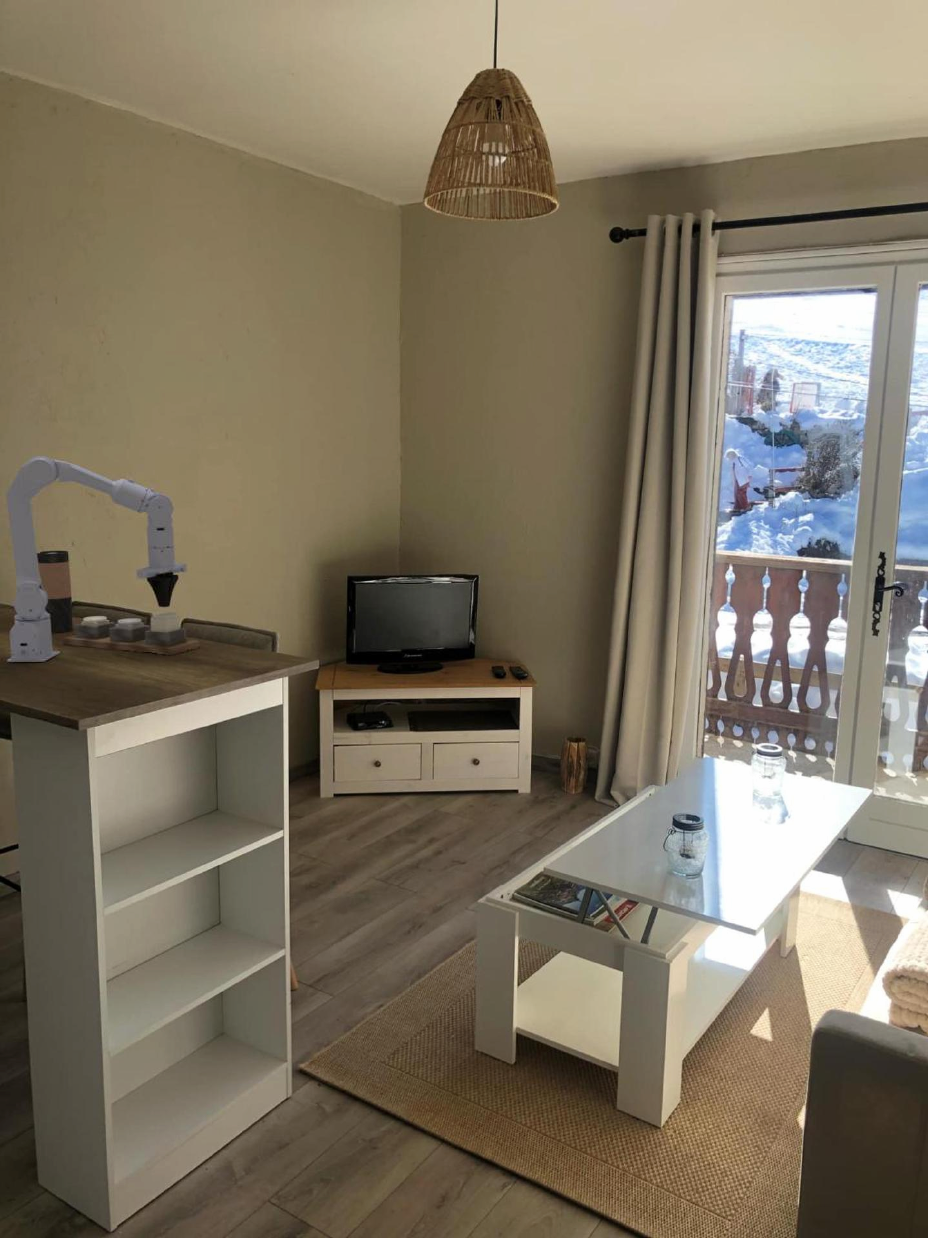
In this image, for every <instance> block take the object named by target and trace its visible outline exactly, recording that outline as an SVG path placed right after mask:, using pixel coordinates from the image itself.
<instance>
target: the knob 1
mask: <svg viewBox="0 0 928 1238" xmlns="http://www.w3.org/2000/svg"><path fill="white" fill-rule="evenodd" d="M82 619H83V620H82V621H81V622H80V624H81V625H87V626H99V625H104V624H109V622H110V620H108V618H107V616H104V615H96V616H95V615H94V616H93V615H92V616H86V617H83V618H82Z"/></svg>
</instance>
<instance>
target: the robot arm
mask: <svg viewBox="0 0 928 1238" xmlns="http://www.w3.org/2000/svg"><path fill="white" fill-rule="evenodd" d="M57 479H58V483H66V482H67V483H68V482H75V483H77V484H80V485H83V486H85V487H88V488H91V489H93V490H96V491H99V492H102V493H105V494H108V495H109V496H110V497H109V498H110V499H111V501H112V503H114V504H116V505H118V506H122V507H124V508H126V509H129V510H131V511H135V512H137V513H139V514H142V513H146V515H147V526H146V539H147V556H148V558H147V559H148V566H146V567H144V568H138V569H136V571H135V572H136V578H137V579H141V580H142V579H143V580H145V579H146V581H147V582H148V584H149V585H150V587H151V589H152V590H153V593H154V596H155V599H156V602H157V606H158V607H159V608H168V607H170V606H171V600H172V596H173V591H174V589H175V587H176V584H177V582H178V580H179V575H178V574H176V573H185V572H186V573H187V571H188V570H187V569H188V567H187V563H186V562H184V563H183V562H178V563H176V559H175V558H176V557H175V538H174V533H175V532H174V526H173V518H172V515H173V512H174V508H175V507H174V505H173V503H172V501H171V499H170V498H169V497H168V496H167V495H165V494H163V493H162V492H155V491H156V489H155V488H152V487H150V488H147V487H146V486H142V485H140V484H137V483H135V480H134V479H131V478H130V477H129V478H128V479H125V478H120V479H118V480H115V481H114V480H112V479H109V478H107V477H105V476H103V475H100V474H98V473H95V472H93V471H90V470H88V469H86V468H83V467H81V466H79V465H77V464H74V463H70V462H67V461H63V460H58V459H52V458H51V457H48V456H44V455H43V456H34V457H32V458H30V459H29V460H28V461H27V462H25V463H24V464H23V465H21V467H19V470H18V471H17V473H16V475H15V476H14V478H13V481H12V482H11V484H10V486H9V487H8V489H7V490H6V503H7V504H6V505H7V512H8V521H9V527H10V534H11V536H10V537H11V543H12V550H13V551H12V552H13V559H14V564H15V565H14V566H15V573H16V584H15V585H16V596H15V598H14V601H13V607H14V610H15V612H16V614H15V615H14V624H13V626H12V627H11V629H10V630H9V645H10V646H9V647H10V658H8V659H6V662H7V663H21V662H22V663H25V662H26V663H27V662H29V663H31V662H32V663H35V662H36V663H38V662H42V663H44V662H46V661H47V660H50V659H52V658H54V657H56V656H57V655H59V654H60V653H61V651H60V650H59V651H58V650H57V651H55V650H54V651H53V639H52V633H51V621H50V614H49V613H47V612H46V610H45V607H46V605H47V603H48V595H47V593H46V591H45V590H44V589H43V587H42V583H41V577H40V573H39V566H38V558H37V553H38V552H37V542H36V537H35V536H36V535H35V528H34V527H35V526H34V519H33V518H34V517H33V512H32V511H33V510H32V504H31V503H32V500H33V498H34V497H36V496H37V494H39V493H40V491H41V490H43V489H44V488H46V487H48V486H49V485H51V484H52V483H54V482H56V480H57Z"/></svg>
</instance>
